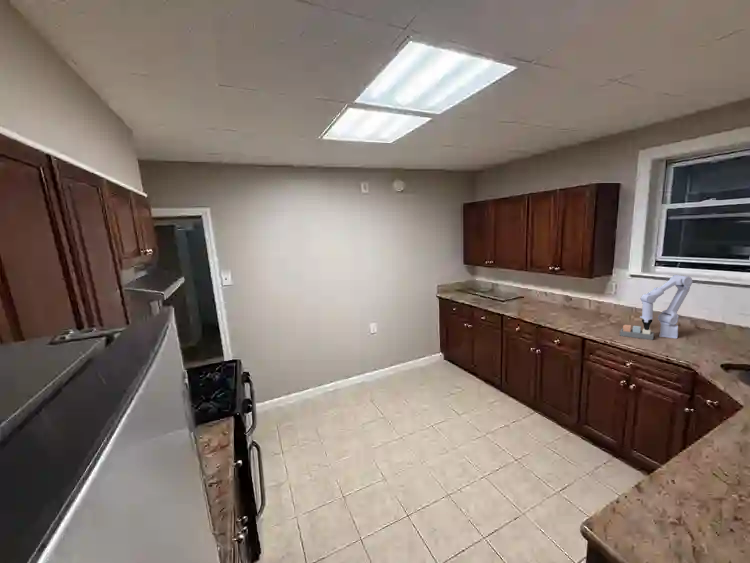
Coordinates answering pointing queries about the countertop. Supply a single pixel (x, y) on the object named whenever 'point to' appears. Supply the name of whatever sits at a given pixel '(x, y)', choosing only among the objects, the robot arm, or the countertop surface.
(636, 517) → the countertop surface
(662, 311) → the robot arm
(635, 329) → the key slate
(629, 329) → the key terracotta
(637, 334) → the grey slotted frame
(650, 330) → the key ivory
